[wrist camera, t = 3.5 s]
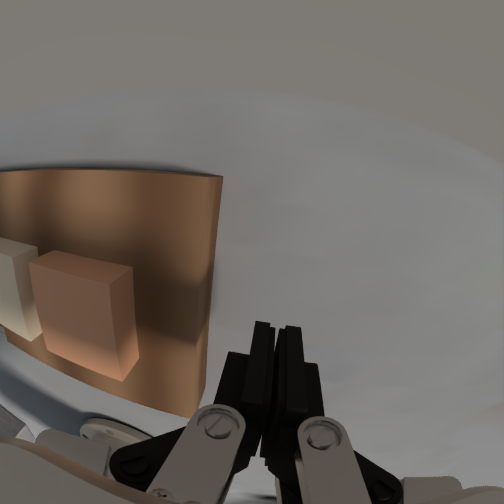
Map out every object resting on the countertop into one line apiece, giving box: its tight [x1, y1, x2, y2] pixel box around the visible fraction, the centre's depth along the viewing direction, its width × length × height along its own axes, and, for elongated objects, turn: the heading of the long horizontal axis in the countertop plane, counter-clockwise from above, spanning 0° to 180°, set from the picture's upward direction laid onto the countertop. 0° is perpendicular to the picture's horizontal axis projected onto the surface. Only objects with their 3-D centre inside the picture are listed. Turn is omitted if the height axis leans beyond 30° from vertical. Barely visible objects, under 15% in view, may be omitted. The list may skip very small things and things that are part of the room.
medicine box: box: [0, 406, 35, 443], centre depth 21 cm, size 8×4×9 cm, turn 84°
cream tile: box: [0, 237, 42, 342], centre depth 11 cm, size 5×5×2 cm
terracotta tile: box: [29, 250, 139, 382], centre depth 11 cm, size 5×5×2 cm
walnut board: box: [0, 168, 223, 419], centre depth 13 cm, size 16×13×3 cm
